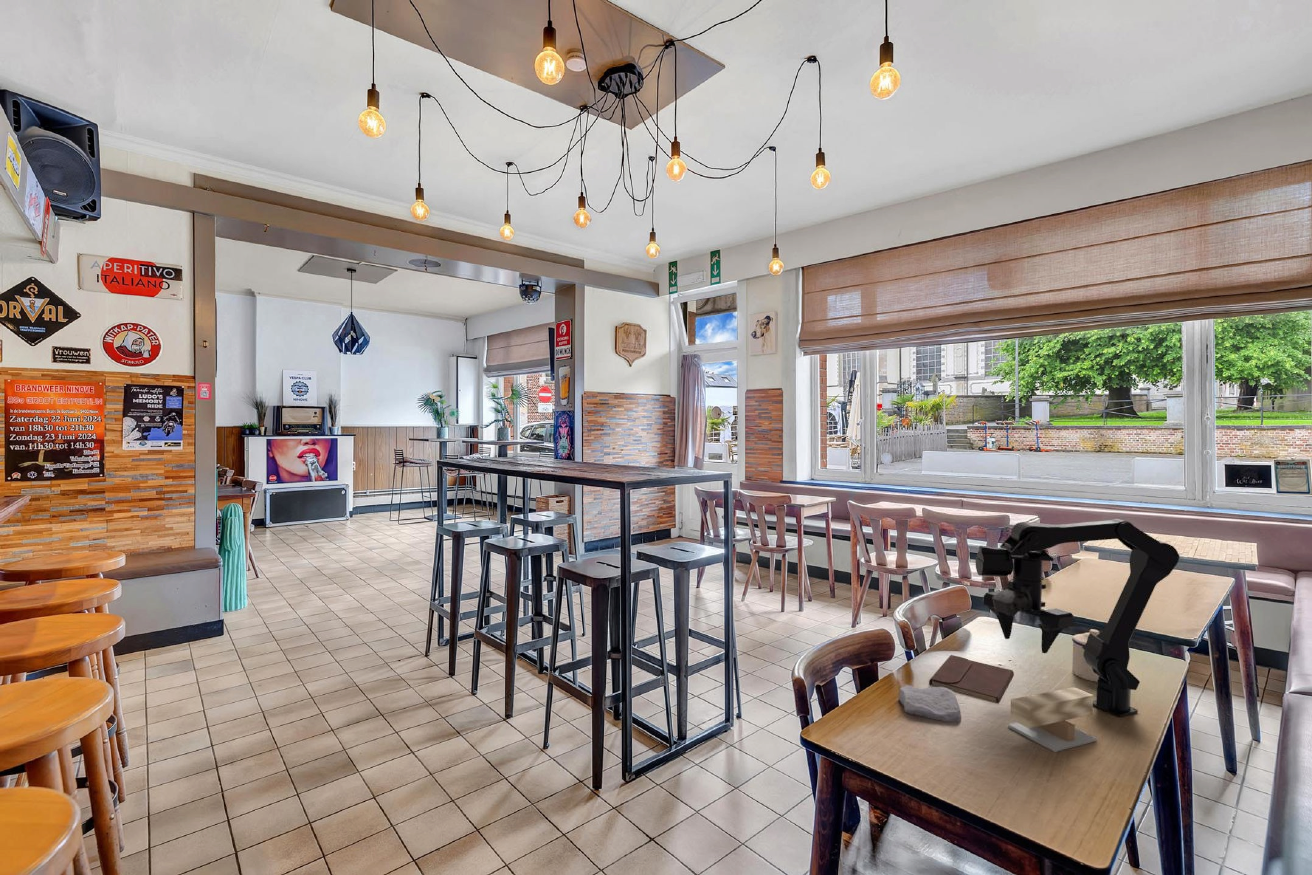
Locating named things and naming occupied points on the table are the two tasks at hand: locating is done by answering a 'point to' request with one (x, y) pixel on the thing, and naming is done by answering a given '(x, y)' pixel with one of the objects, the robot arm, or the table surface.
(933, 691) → the stone block
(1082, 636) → the teacup with lid
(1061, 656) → the table surface
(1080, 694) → the beech bar
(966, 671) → the notebook
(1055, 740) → the fulcrum stand
